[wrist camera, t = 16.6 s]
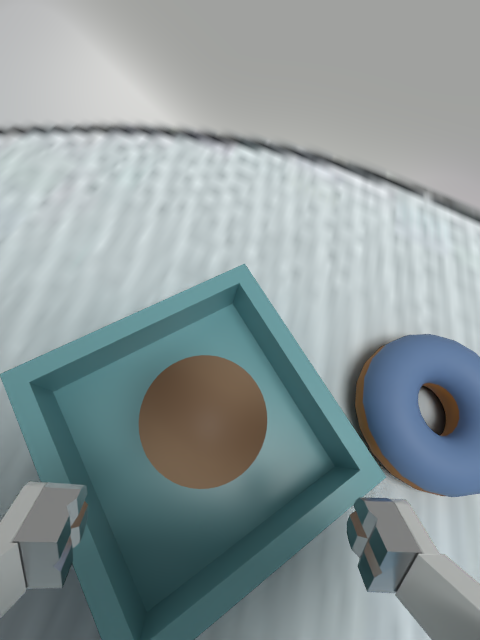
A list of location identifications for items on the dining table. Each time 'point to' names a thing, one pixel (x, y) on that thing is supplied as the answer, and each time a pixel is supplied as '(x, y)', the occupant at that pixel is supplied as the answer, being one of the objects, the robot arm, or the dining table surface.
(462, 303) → the dining table surface
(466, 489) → the doughnut
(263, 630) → the dining table surface
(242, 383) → the brown wooden cylinder
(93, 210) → the dining table surface
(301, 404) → the box
